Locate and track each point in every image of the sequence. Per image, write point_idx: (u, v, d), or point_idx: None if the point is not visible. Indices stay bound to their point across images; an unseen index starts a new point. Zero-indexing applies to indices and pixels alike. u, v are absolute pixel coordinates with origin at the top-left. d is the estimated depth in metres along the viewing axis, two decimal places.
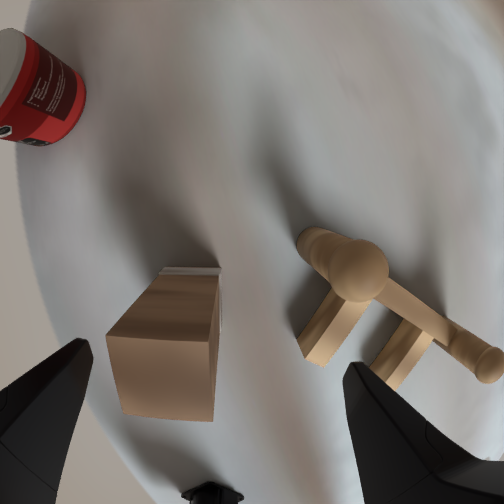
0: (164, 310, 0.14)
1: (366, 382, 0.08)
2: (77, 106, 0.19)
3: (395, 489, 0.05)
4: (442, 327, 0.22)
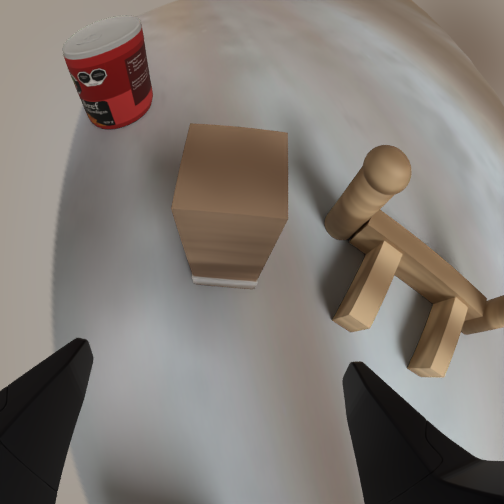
0: None
1: (366, 382, 0.08)
2: (146, 102, 0.27)
3: (395, 489, 0.05)
4: (472, 292, 0.21)
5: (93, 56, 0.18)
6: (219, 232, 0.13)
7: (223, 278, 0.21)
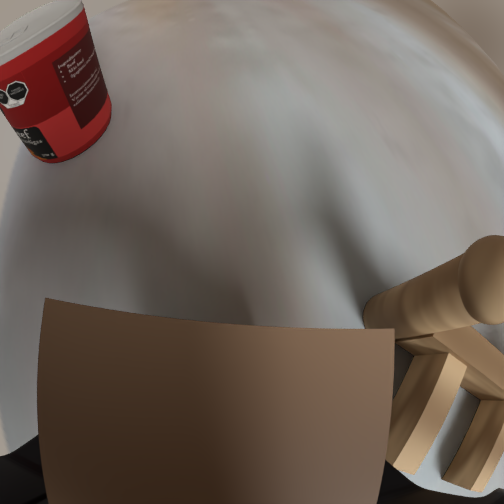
0: None
1: None
2: (99, 121, 0.18)
3: None
4: None
5: (4, 64, 0.08)
6: None
7: None
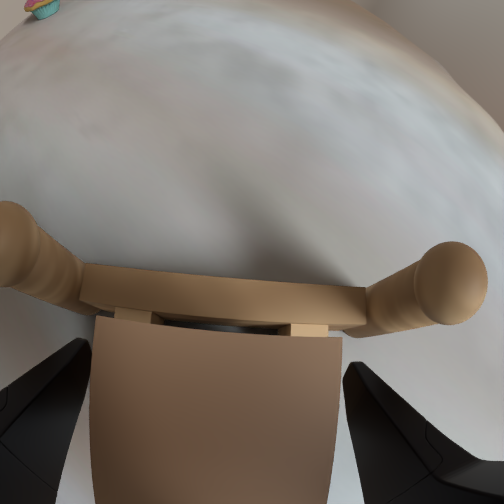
0: None
1: (366, 382, 0.08)
2: None
3: (395, 489, 0.05)
4: (324, 299, 0.15)
5: None
6: None
7: None
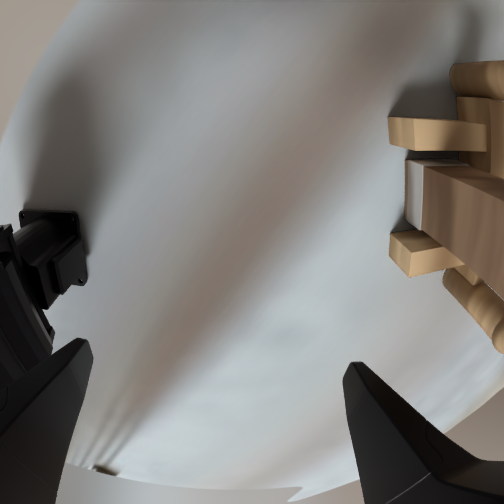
0: None
1: (366, 382, 0.08)
2: None
3: (395, 489, 0.05)
4: None
5: None
6: None
7: (422, 197, 0.17)
